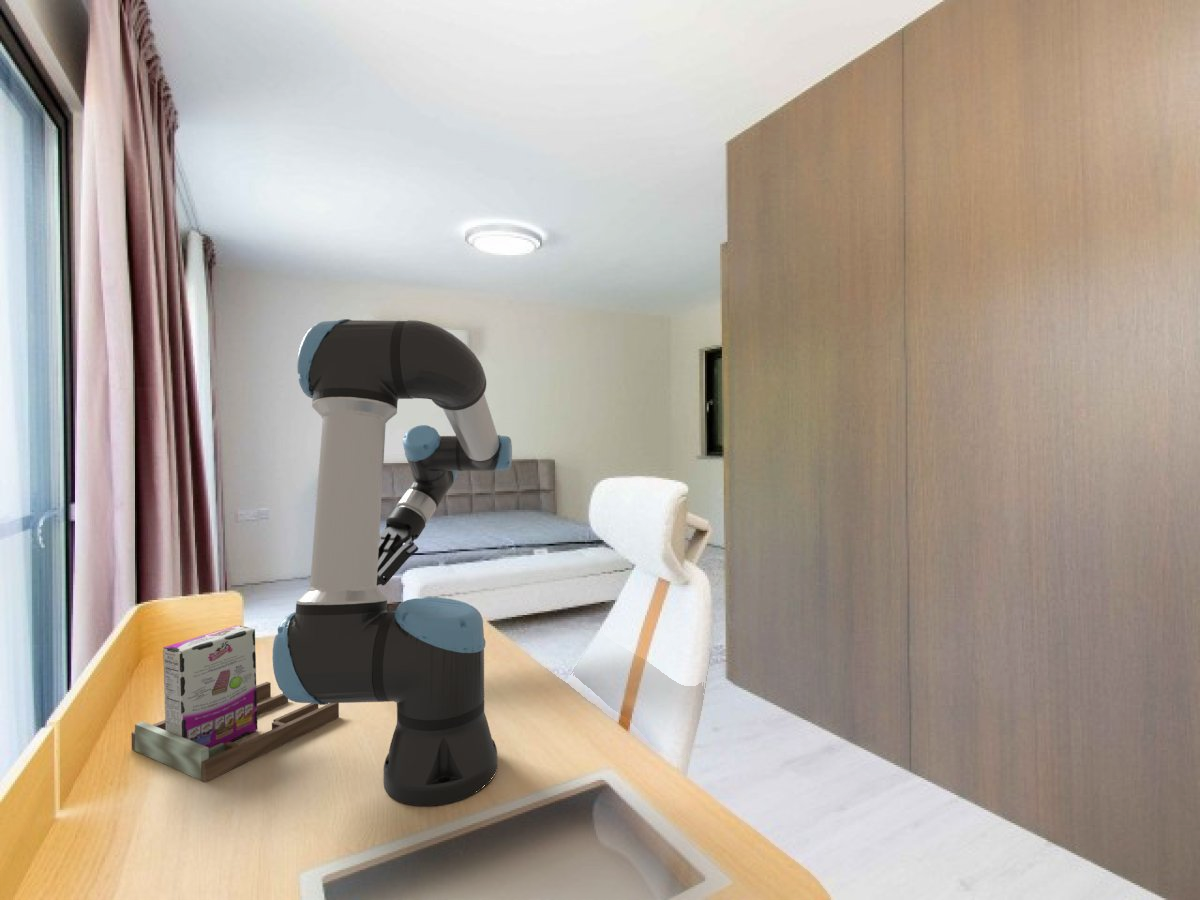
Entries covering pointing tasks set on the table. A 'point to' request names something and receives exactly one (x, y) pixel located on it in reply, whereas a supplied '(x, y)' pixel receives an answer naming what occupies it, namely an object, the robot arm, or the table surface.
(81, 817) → the table surface
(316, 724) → the grey-brown low tray piece
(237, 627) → the candy bar box
